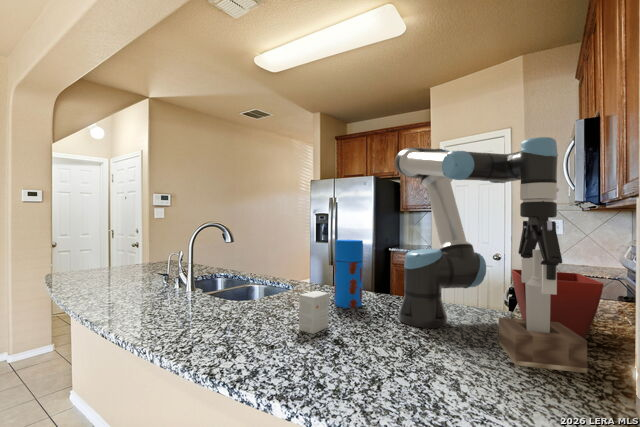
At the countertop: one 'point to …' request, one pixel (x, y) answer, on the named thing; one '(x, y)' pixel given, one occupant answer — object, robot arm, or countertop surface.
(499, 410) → the countertop surface
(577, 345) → the socket block
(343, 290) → the thermos
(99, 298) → the countertop surface
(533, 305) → the bottle
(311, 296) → the small box
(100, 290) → the countertop surface
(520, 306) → the plant pot
